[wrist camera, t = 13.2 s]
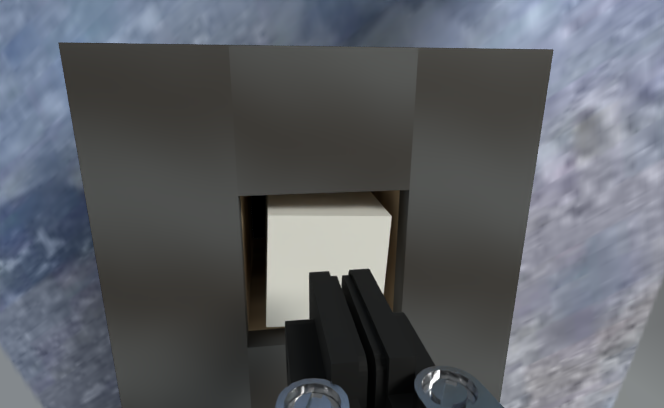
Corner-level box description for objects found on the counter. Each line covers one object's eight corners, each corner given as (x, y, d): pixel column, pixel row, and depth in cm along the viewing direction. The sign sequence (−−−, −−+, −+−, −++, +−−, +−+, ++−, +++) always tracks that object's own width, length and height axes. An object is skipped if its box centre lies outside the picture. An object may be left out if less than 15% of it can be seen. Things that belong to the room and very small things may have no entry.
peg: (266, 154, 23) (267, 215, 13) (340, 156, 23) (391, 216, 14) (264, 225, 24) (266, 327, 15) (335, 225, 25) (380, 323, 15)
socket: (152, 54, 21) (58, 42, 11) (432, 57, 23) (553, 49, 13) (181, 311, 25) (131, 461, 15) (415, 294, 27) (497, 417, 17)
